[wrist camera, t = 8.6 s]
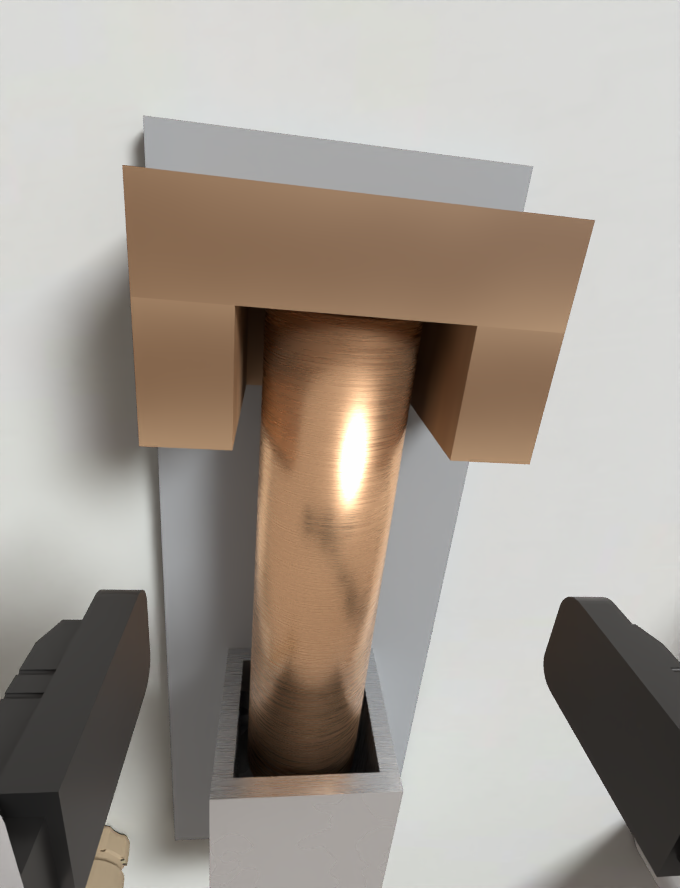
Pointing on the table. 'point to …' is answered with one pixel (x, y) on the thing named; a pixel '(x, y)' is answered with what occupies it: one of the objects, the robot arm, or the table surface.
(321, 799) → the steel sleeve
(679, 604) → the table surface
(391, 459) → the copper tube
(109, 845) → the handle
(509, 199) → the rubber mat
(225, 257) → the walnut socket
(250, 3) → the table surface
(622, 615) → the robot arm
